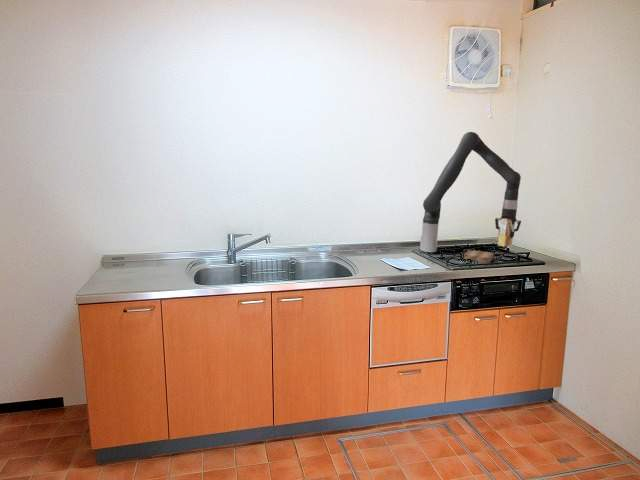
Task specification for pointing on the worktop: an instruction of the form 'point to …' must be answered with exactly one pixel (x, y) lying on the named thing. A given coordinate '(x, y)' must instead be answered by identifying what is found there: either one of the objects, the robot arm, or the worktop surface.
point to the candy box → (505, 233)
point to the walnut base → (479, 256)
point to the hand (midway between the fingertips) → (505, 237)
